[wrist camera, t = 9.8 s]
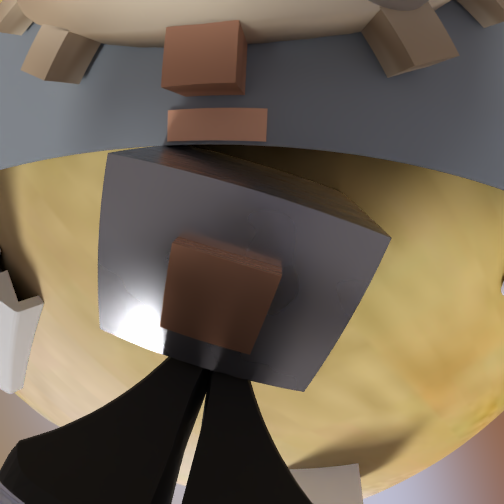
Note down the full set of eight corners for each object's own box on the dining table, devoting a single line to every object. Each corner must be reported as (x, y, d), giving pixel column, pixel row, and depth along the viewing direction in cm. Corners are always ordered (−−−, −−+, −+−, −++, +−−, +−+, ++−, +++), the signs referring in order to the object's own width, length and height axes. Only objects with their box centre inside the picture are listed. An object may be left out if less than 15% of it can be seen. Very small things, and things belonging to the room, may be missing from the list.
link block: (341, 191, 8) (398, 244, 4) (296, 301, 9) (304, 401, 6) (181, 143, 8) (98, 154, 4) (158, 259, 9) (94, 336, 5)
